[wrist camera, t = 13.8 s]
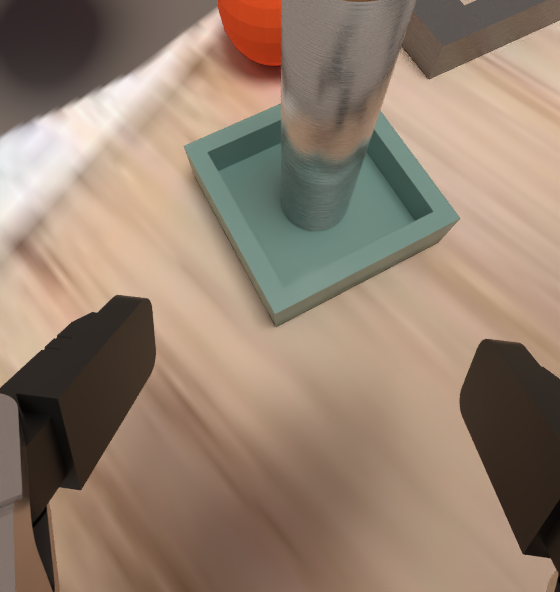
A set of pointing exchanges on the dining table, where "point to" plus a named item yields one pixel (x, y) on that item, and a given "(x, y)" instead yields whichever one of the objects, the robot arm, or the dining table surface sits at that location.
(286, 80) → the pin
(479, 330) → the dining table surface
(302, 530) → the dining table surface
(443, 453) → the dining table surface
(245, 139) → the tray
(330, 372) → the dining table surface
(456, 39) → the block
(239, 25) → the clementine
